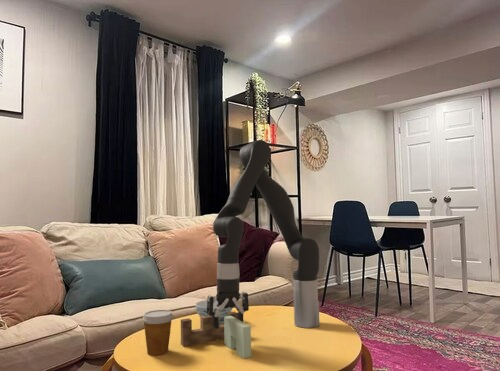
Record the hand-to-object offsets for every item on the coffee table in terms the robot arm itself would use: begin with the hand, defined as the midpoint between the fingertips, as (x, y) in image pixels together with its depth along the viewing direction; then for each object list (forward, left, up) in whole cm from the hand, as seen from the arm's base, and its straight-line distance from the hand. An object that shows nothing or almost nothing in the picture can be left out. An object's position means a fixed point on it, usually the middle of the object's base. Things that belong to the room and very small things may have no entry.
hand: (228, 326), depth 122 cm
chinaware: (+8, -25, -6) cm, 27 cm away
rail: (+7, -5, -6) cm, 10 cm away
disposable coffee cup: (+22, +6, -6) cm, 23 cm away
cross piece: (-3, +5, -6) cm, 8 cm away
